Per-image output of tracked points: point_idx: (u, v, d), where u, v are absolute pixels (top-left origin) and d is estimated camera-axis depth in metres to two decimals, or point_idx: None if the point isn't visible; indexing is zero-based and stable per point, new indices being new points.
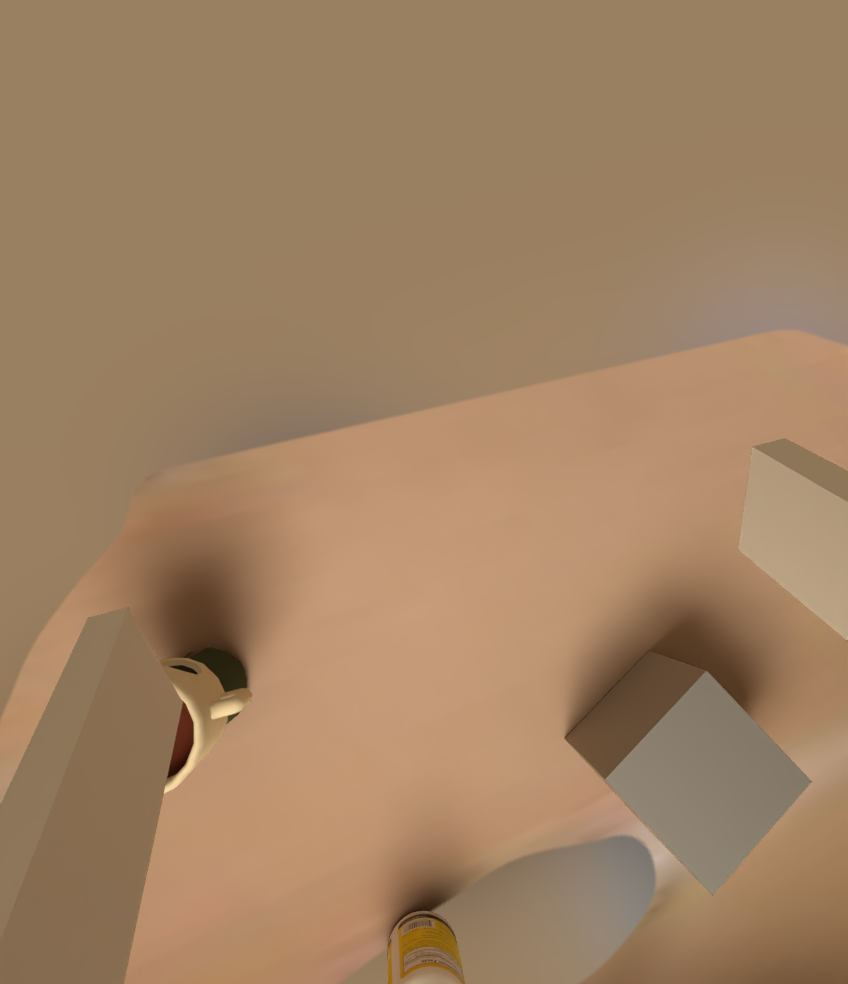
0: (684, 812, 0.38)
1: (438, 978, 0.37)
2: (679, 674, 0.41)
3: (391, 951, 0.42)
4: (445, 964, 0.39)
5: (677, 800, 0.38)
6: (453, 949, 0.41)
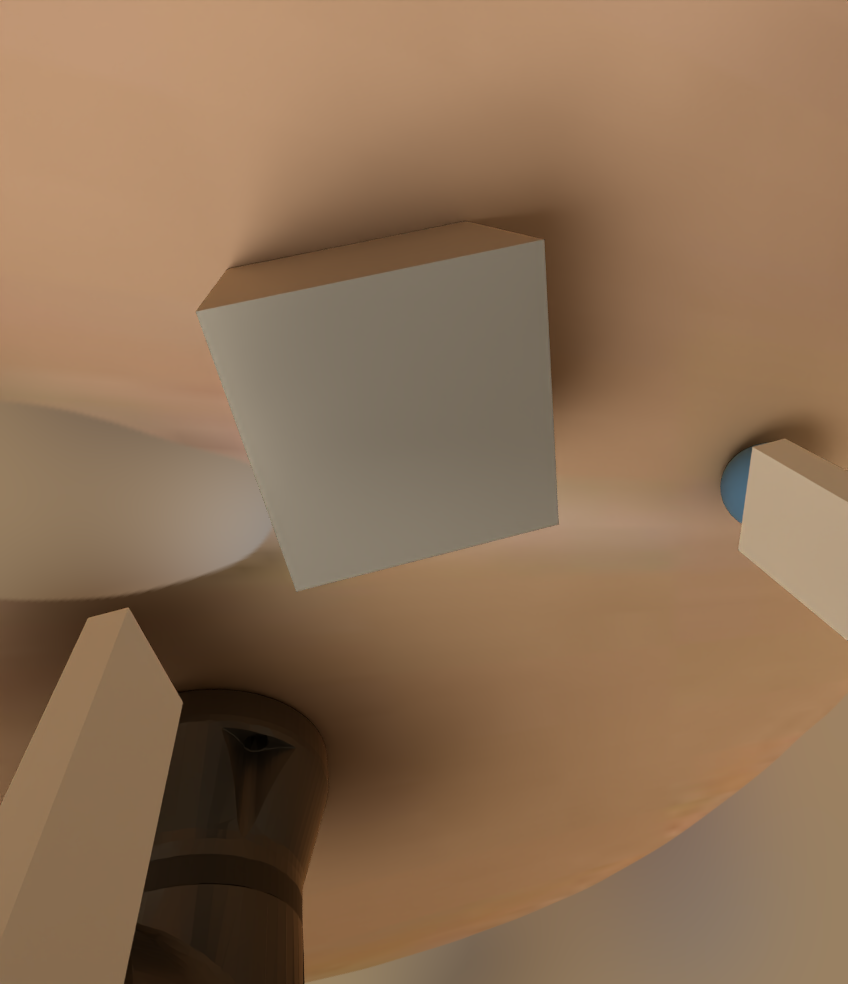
0: (327, 458, 0.19)
1: None
2: (487, 239, 0.19)
3: None
4: None
5: (326, 433, 0.18)
6: None
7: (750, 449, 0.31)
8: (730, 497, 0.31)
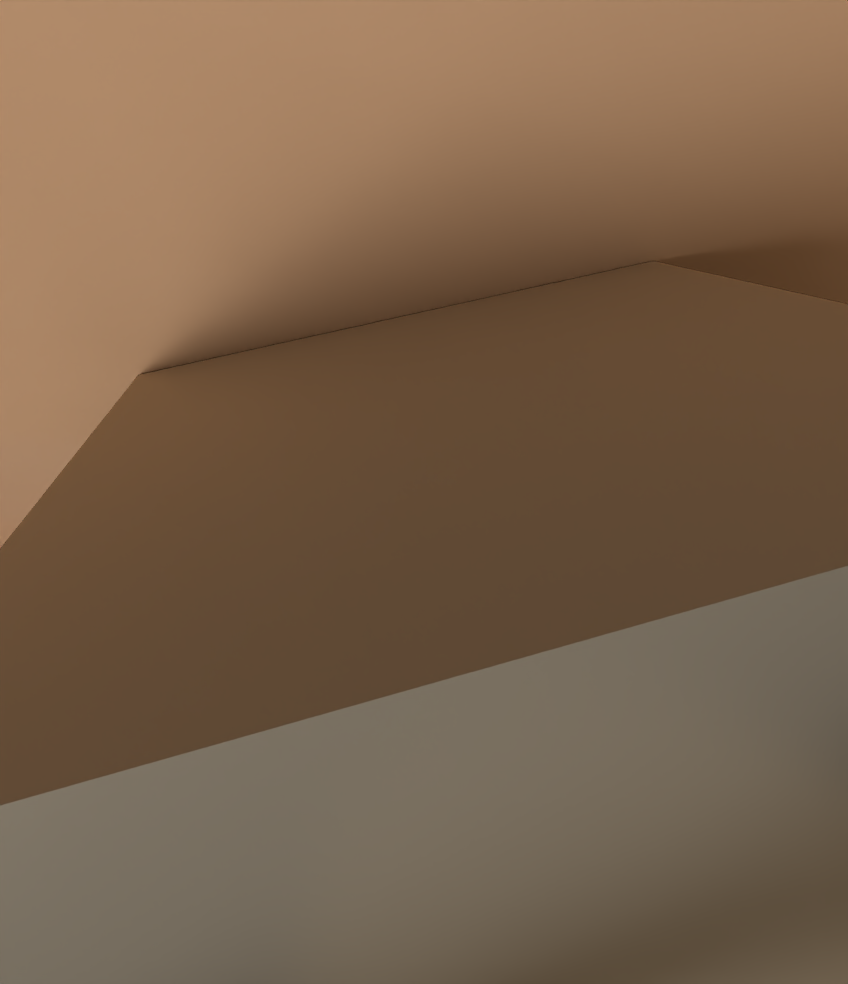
0: None
1: None
2: None
3: None
4: None
5: None
6: None
7: None
8: None
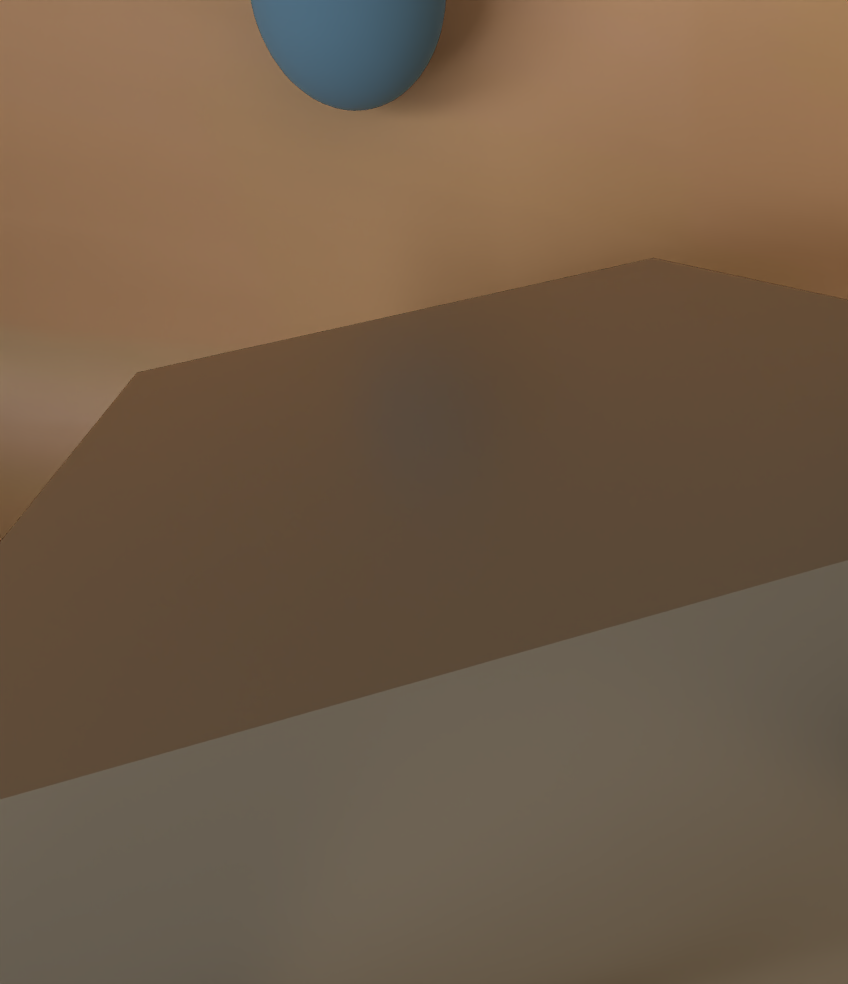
0: None
1: None
2: None
3: None
4: None
5: None
6: None
7: (327, 45, 0.14)
8: (252, 6, 0.15)
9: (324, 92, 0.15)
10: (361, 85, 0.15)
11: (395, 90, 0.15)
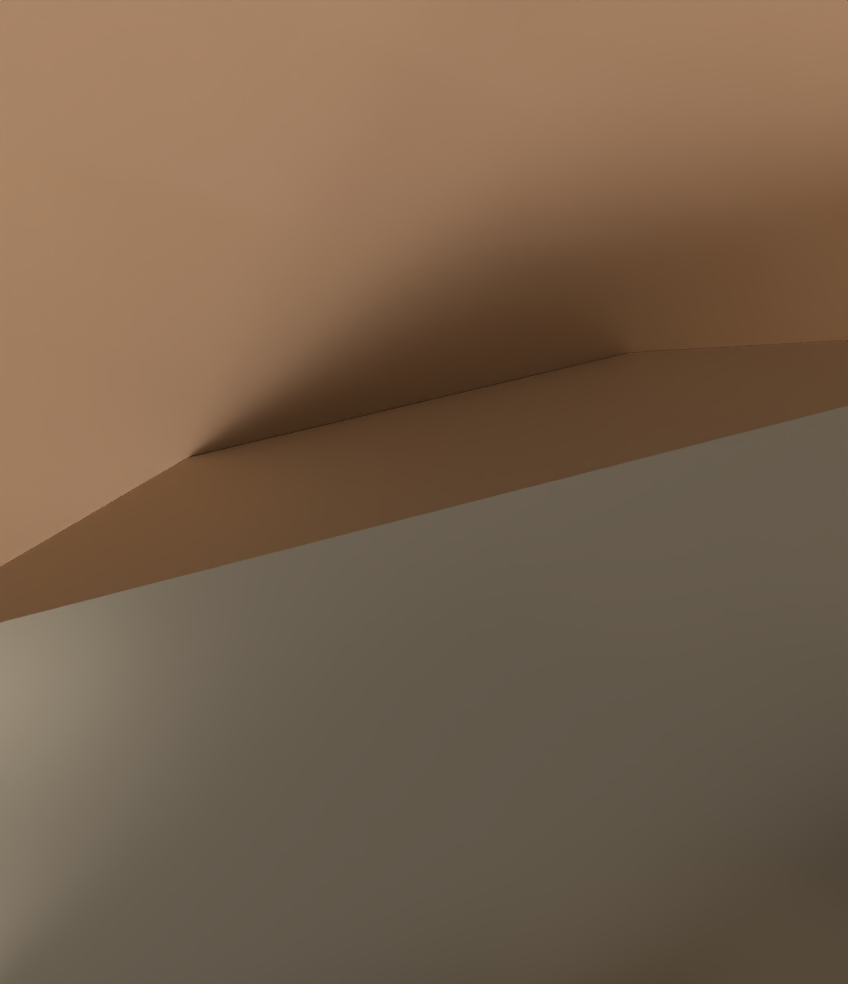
0: None
1: None
2: (823, 356, 0.07)
3: None
4: None
5: None
6: None
7: None
8: None
9: None
10: None
11: None
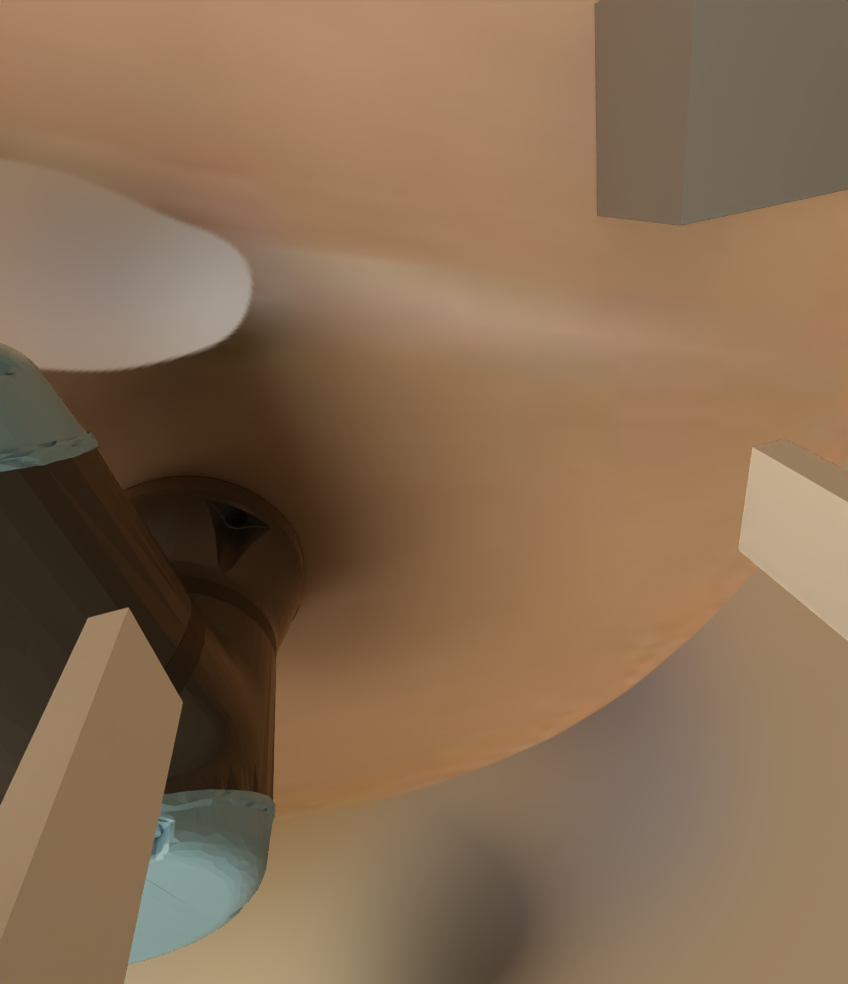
0: (737, 94, 0.25)
1: None
2: None
3: None
4: None
5: (744, 69, 0.25)
6: None
7: None
8: None
9: None
10: None
11: None
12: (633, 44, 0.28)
